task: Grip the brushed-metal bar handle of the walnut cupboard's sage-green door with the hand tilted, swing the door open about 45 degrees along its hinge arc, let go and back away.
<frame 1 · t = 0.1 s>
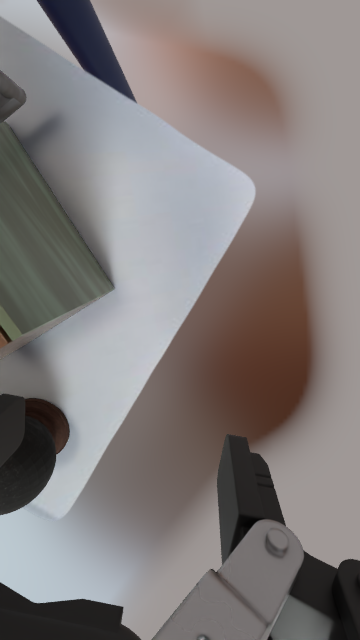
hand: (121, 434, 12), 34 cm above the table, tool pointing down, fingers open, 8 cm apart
black sphere on stand: (38, 427, 52), on the table
cupboard: (10, 248, 45), on the table
cupboard door: (30, 183, 31), point 12 cm above the table, hinge at 0.0°
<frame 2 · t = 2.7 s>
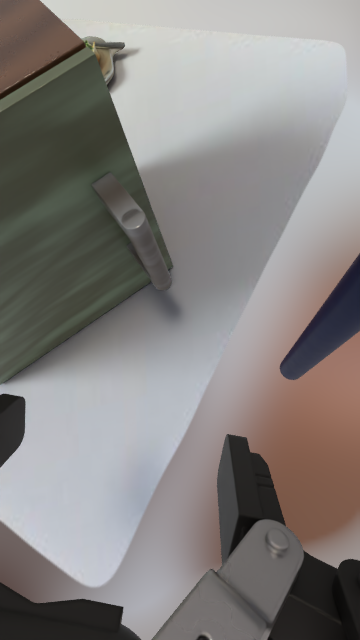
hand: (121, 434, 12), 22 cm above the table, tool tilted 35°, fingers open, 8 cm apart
cupboard: (57, 269, 42), on the table
salad plate: (70, 79, 57), on the table
cupboard door: (40, 301, 26), point 12 cm above the table, hinge at 0.0°
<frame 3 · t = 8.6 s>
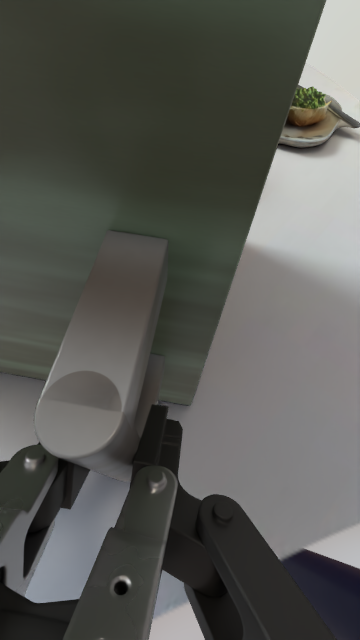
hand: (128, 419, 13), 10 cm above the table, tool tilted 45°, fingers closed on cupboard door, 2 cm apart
salad plate: (277, 117, 46), on the table
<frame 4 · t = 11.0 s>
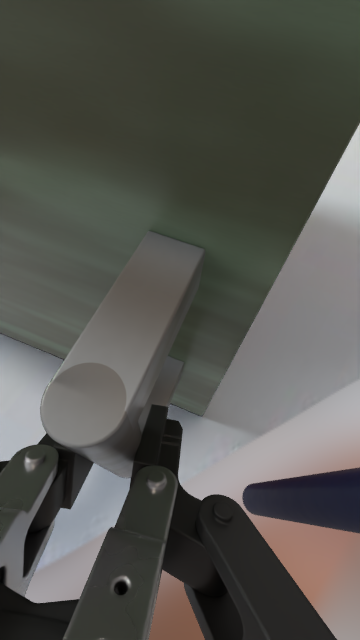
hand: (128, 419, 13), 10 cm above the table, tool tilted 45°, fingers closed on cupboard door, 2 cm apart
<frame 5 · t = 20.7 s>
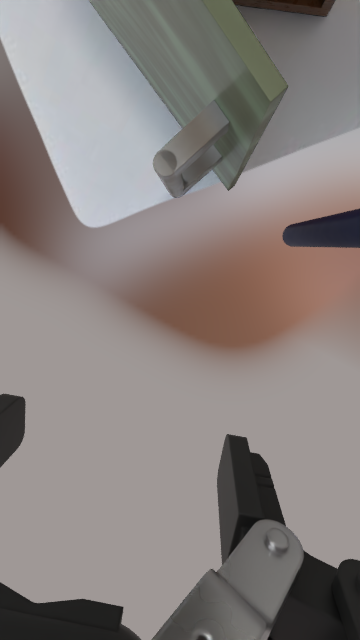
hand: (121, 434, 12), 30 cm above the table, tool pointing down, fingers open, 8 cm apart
cupboard door: (118, 52, 24), point 12 cm above the table, hinge at 42.2°
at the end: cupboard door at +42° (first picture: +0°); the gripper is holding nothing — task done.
